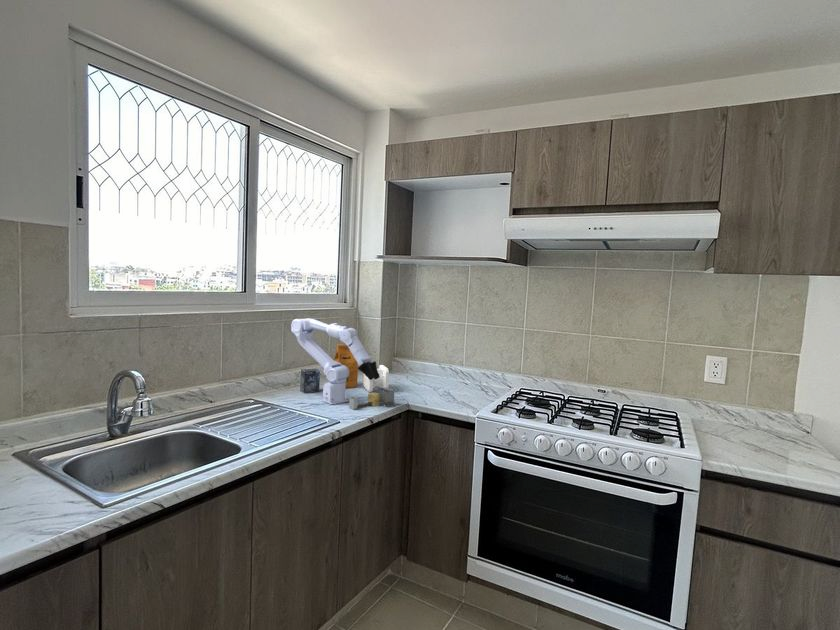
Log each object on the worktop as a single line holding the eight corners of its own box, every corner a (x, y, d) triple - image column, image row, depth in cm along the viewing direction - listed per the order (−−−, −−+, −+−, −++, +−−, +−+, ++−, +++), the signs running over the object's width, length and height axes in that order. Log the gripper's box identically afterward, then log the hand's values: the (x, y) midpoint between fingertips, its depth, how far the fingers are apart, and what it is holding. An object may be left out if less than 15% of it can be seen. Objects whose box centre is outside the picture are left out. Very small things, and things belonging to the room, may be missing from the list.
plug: (353, 410, 189) (354, 398, 188) (348, 408, 191) (349, 396, 191) (379, 404, 198) (380, 393, 198) (374, 403, 201) (375, 392, 201)
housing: (388, 407, 195) (389, 392, 195) (369, 400, 205) (370, 386, 205) (397, 405, 199) (398, 391, 198) (378, 398, 209) (378, 385, 208)
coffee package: (329, 384, 232) (331, 342, 230) (352, 383, 238) (354, 342, 236) (335, 389, 223) (337, 345, 221) (359, 387, 229) (360, 345, 227)
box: (303, 393, 212) (304, 371, 211) (299, 390, 216) (300, 369, 216) (319, 391, 216) (320, 370, 216) (315, 389, 221) (316, 368, 220)
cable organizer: (388, 392, 221) (389, 369, 220) (367, 393, 218) (368, 370, 217) (381, 385, 235) (382, 364, 234) (361, 386, 232) (362, 364, 231)
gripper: (361, 346, 188) (377, 373, 185) (371, 347, 202) (387, 373, 199) (347, 355, 189) (364, 383, 186) (358, 356, 203) (374, 381, 200)
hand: (375, 378), depth 193 cm, fingers open, 7 cm apart
